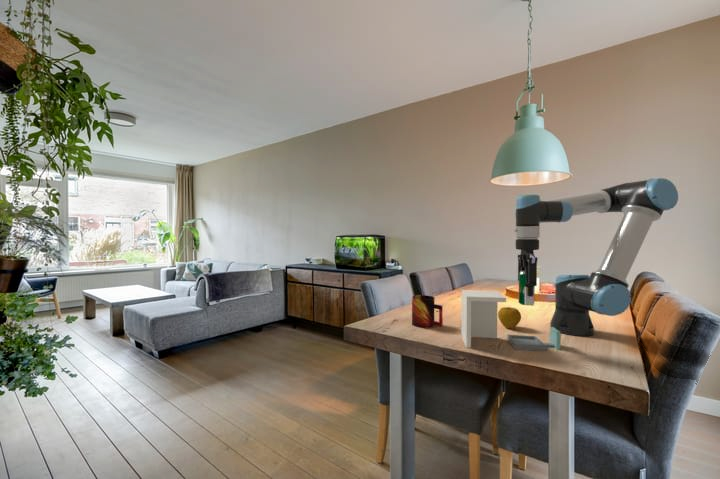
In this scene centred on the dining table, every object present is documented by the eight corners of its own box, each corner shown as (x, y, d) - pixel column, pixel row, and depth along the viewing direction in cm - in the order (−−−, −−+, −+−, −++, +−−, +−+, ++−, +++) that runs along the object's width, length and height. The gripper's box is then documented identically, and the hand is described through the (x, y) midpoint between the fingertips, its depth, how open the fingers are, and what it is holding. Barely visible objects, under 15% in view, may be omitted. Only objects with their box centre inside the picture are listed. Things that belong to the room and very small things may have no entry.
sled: (550, 341, 121) (551, 325, 121) (563, 351, 111) (563, 334, 111) (507, 339, 124) (507, 323, 124) (515, 349, 114) (515, 331, 113)
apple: (514, 324, 144) (514, 304, 143) (525, 330, 135) (525, 309, 134) (494, 324, 143) (494, 304, 143) (503, 330, 134) (504, 309, 134)
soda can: (523, 305, 115) (524, 271, 114) (515, 302, 120) (516, 270, 119) (537, 305, 115) (537, 271, 115) (528, 302, 120) (529, 269, 120)
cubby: (496, 337, 126) (497, 291, 125) (505, 349, 113) (506, 297, 112) (461, 335, 128) (461, 290, 127) (466, 347, 115) (466, 296, 115)
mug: (442, 330, 136) (442, 301, 135) (409, 326, 141) (409, 298, 141) (445, 323, 145) (445, 296, 144) (414, 320, 150) (414, 294, 150)
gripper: (509, 238, 126) (508, 298, 127) (524, 239, 109) (523, 308, 109) (529, 238, 125) (529, 298, 126) (548, 239, 107) (547, 309, 108)
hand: (526, 303), depth 117 cm, fingers closed on soda can, 5 cm apart
